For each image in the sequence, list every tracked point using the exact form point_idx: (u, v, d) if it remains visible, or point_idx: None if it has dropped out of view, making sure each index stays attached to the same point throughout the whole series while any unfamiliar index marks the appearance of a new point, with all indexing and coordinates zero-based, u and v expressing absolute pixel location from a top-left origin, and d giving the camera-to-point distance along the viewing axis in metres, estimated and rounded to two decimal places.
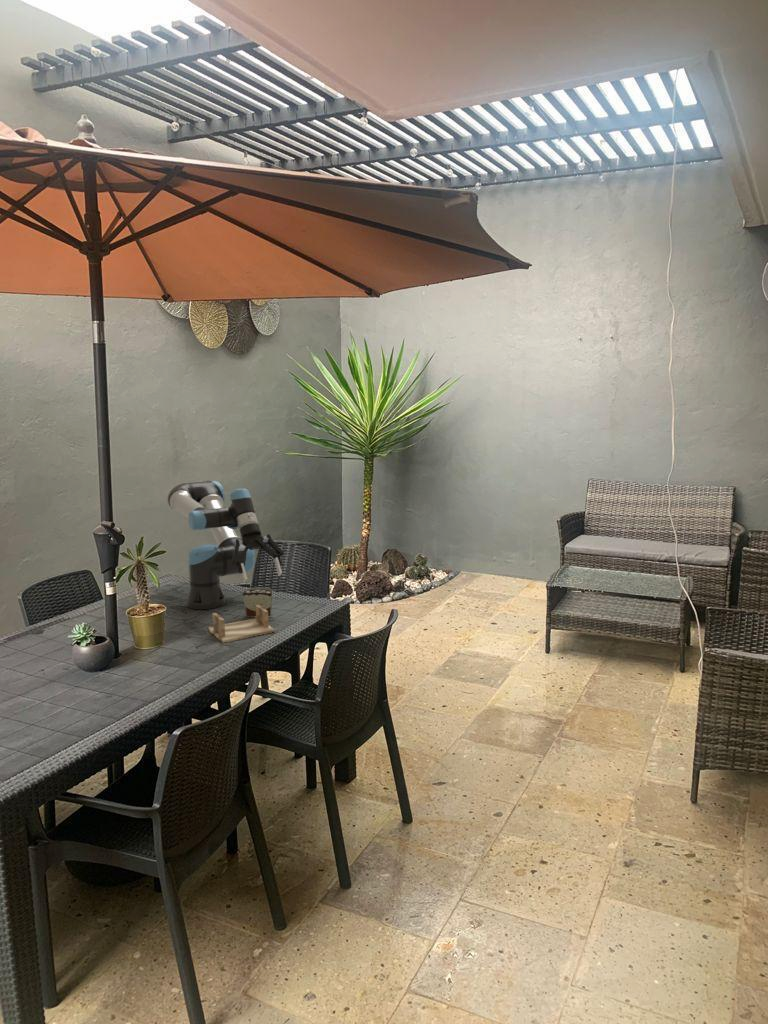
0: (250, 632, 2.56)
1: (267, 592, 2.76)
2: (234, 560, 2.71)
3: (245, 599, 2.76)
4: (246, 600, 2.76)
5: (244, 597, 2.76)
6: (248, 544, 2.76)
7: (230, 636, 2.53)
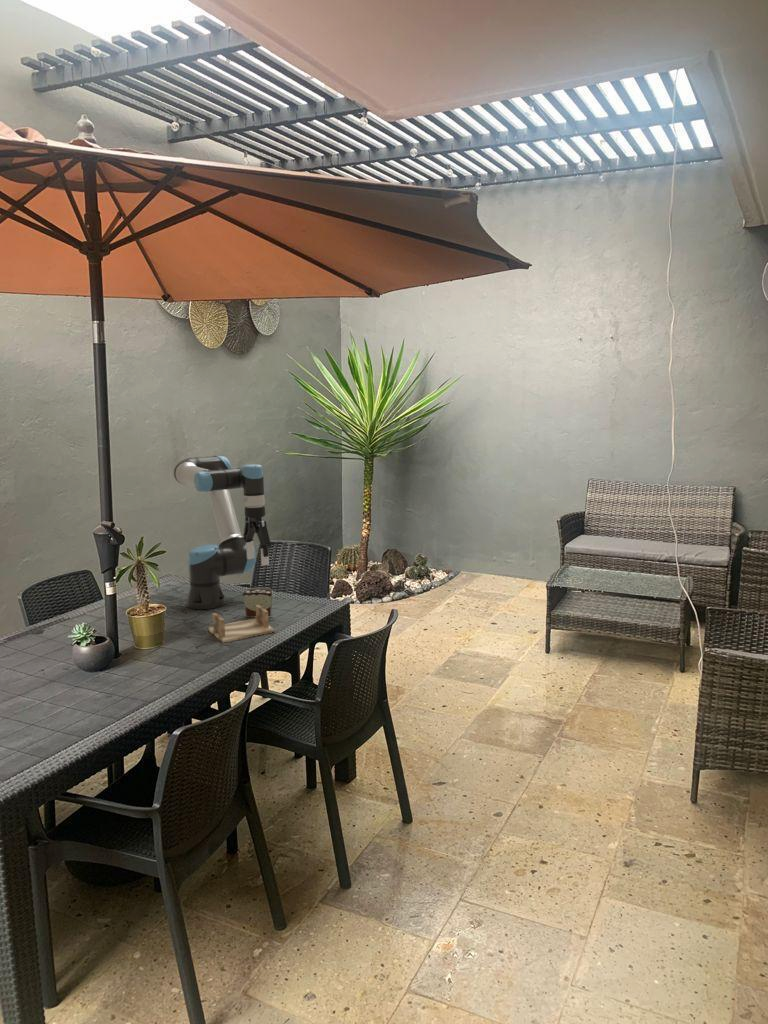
0: (250, 632, 2.56)
1: (267, 592, 2.76)
2: (243, 537, 2.82)
3: (245, 599, 2.76)
4: (246, 600, 2.76)
5: (244, 597, 2.76)
6: (248, 526, 2.75)
7: (230, 636, 2.53)
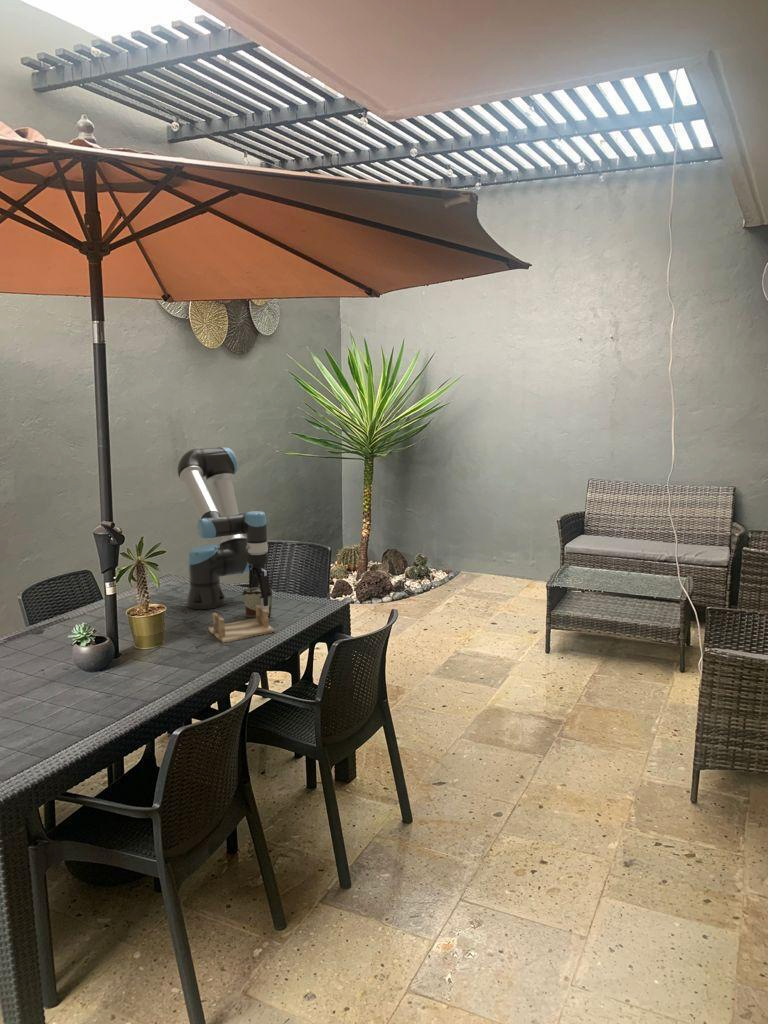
0: (250, 632, 2.56)
1: None
2: (249, 586, 2.83)
3: (245, 598, 2.76)
4: (246, 600, 2.76)
5: (244, 596, 2.76)
6: (252, 573, 2.77)
7: (230, 636, 2.53)
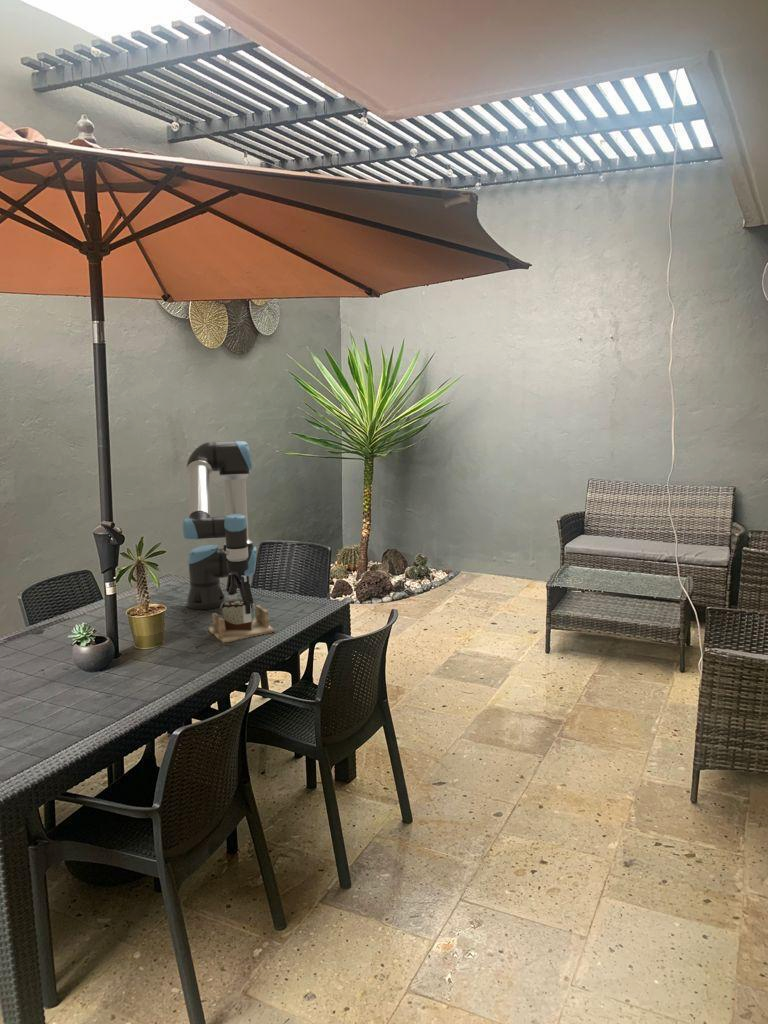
0: (250, 632, 2.56)
1: None
2: (226, 589, 2.66)
3: (224, 612, 2.58)
4: (225, 613, 2.58)
5: (223, 609, 2.58)
6: (231, 579, 2.59)
7: (230, 636, 2.53)
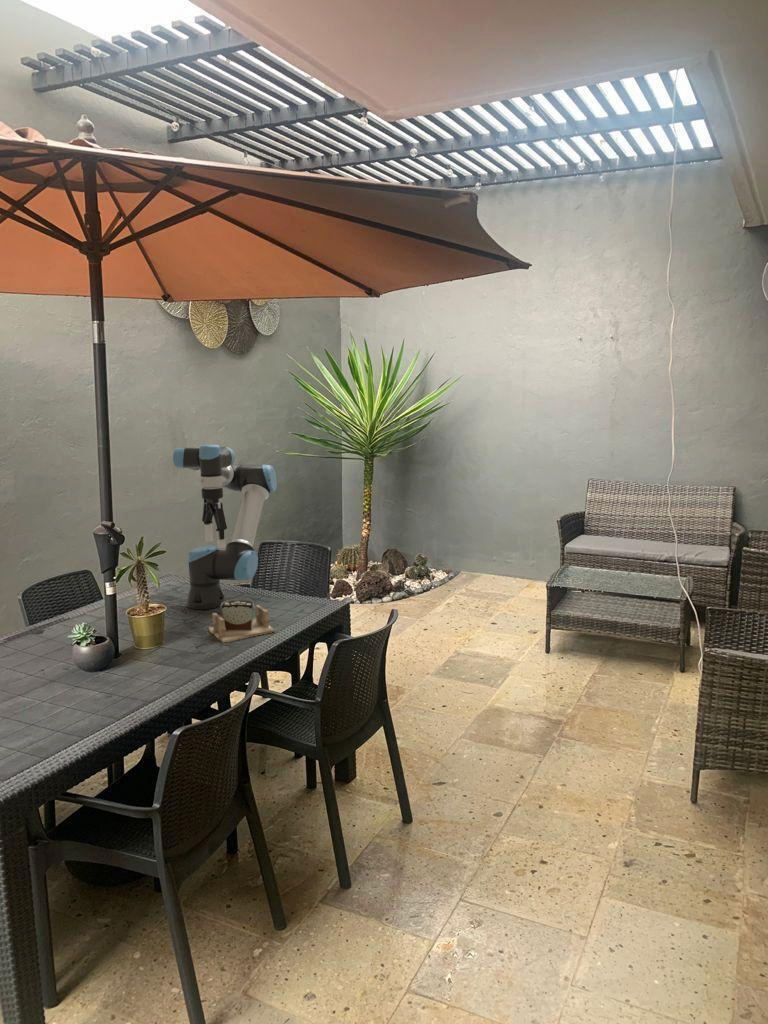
0: (250, 632, 2.56)
1: (248, 604, 2.58)
2: (202, 519, 2.75)
3: (224, 612, 2.58)
4: (225, 613, 2.58)
5: (223, 609, 2.58)
6: (206, 508, 2.68)
7: (230, 636, 2.53)
